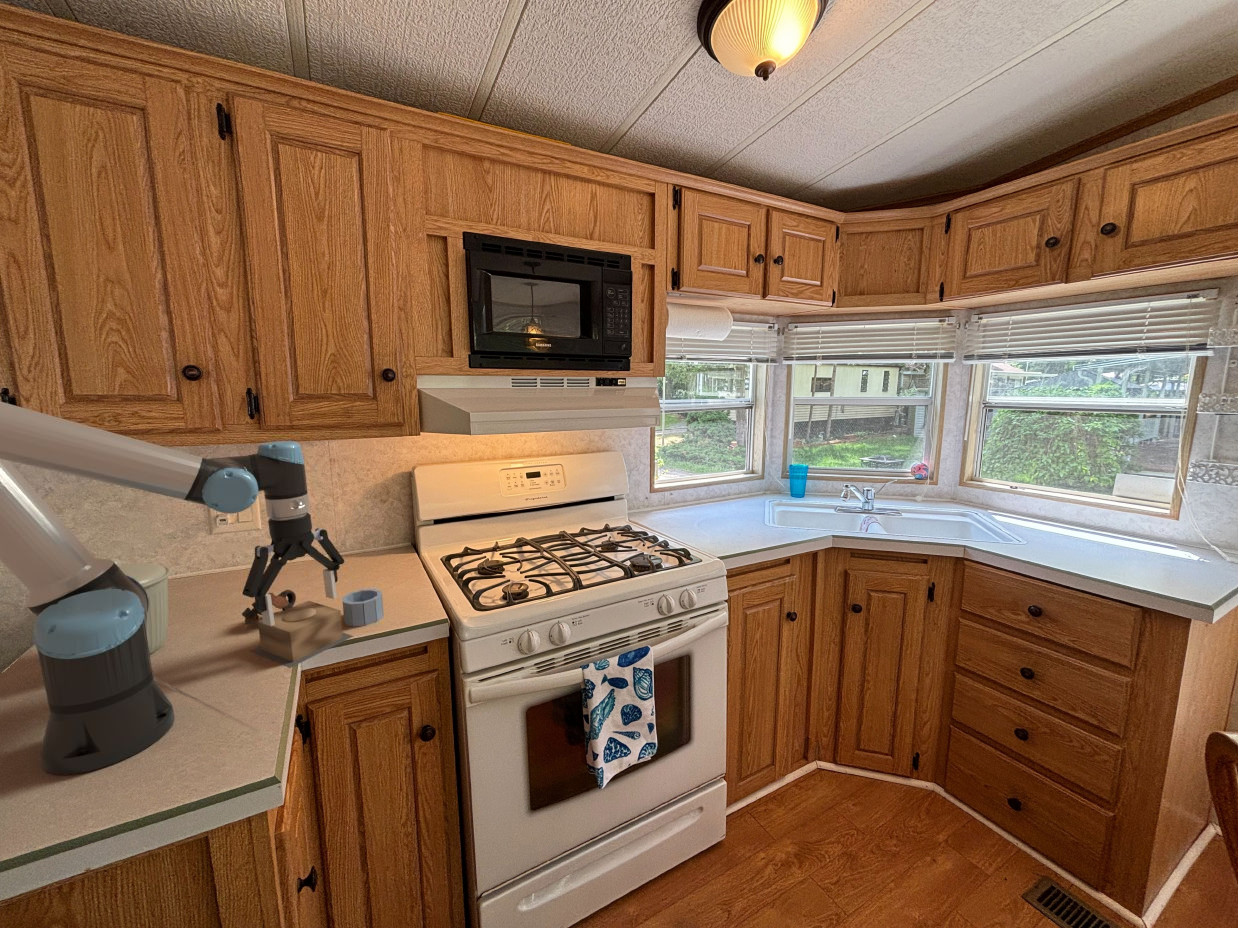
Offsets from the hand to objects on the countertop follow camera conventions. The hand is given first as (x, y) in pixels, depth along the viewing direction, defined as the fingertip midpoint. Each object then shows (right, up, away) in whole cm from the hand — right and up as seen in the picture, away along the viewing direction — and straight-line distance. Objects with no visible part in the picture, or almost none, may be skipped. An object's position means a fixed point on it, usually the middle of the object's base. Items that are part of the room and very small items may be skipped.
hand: (301, 610), depth 110 cm
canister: (-35, -9, -3) cm, 36 cm away
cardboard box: (0, -7, +1) cm, 8 cm away
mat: (0, -8, +1) cm, 8 cm away
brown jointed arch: (-14, -6, +12) cm, 19 cm away
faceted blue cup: (+7, -6, +13) cm, 16 cm away
